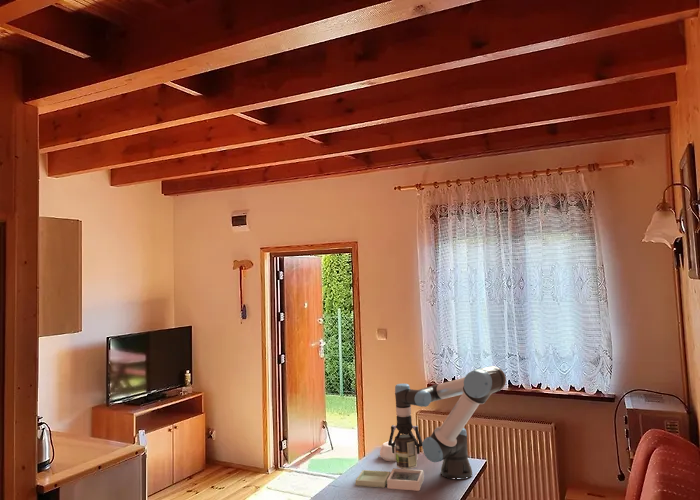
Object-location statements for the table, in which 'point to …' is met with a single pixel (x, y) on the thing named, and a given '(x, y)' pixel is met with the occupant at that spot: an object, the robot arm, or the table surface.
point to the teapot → (387, 452)
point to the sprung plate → (406, 476)
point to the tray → (372, 478)
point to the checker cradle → (405, 483)
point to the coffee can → (405, 452)
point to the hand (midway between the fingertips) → (406, 459)
